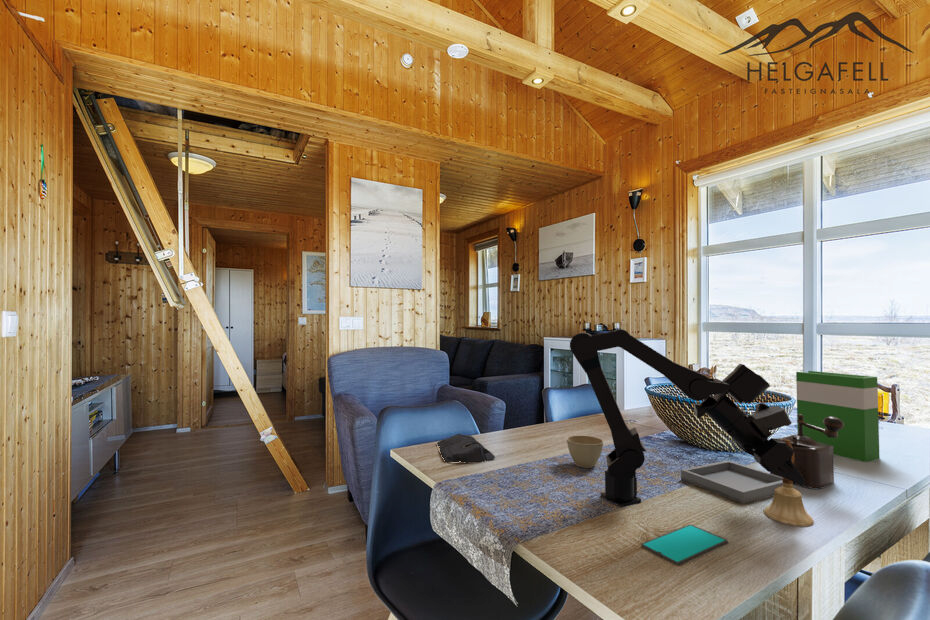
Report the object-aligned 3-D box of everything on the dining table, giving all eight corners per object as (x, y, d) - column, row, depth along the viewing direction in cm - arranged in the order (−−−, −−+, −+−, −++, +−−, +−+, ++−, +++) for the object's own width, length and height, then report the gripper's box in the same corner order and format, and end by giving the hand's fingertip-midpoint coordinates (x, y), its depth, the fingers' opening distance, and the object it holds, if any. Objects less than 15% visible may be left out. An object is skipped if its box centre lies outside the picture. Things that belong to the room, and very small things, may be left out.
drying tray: (743, 503, 96) (743, 492, 96) (681, 479, 110) (680, 469, 110) (792, 490, 103) (792, 480, 103) (728, 469, 118) (727, 460, 118)
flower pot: (605, 472, 116) (605, 445, 116) (567, 469, 118) (567, 443, 118) (601, 460, 125) (601, 435, 126) (566, 458, 127) (566, 434, 128)
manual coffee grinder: (766, 477, 112) (765, 407, 112) (788, 470, 117) (786, 403, 118) (841, 498, 98) (839, 419, 99) (861, 489, 104) (859, 414, 104)
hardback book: (797, 445, 140) (796, 371, 141) (811, 443, 143) (809, 370, 144) (865, 462, 124) (863, 378, 124) (879, 458, 127) (877, 376, 127)
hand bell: (817, 530, 83) (815, 447, 84) (765, 520, 88) (763, 441, 88) (810, 514, 90) (809, 437, 91) (762, 505, 95) (761, 432, 95)
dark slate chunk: (477, 442, 146) (477, 428, 147) (497, 462, 125) (497, 446, 125) (433, 445, 143) (433, 430, 143) (445, 466, 122) (445, 449, 122)
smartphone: (728, 540, 79) (678, 563, 71) (728, 544, 79) (678, 568, 71) (690, 523, 85) (640, 543, 78) (690, 528, 85) (640, 548, 78)
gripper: (779, 400, 82) (851, 464, 79) (745, 386, 100) (803, 437, 97) (734, 439, 84) (802, 503, 81) (708, 418, 102) (763, 470, 99)
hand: (792, 475), depth 89 cm, fingers open, 9 cm apart
